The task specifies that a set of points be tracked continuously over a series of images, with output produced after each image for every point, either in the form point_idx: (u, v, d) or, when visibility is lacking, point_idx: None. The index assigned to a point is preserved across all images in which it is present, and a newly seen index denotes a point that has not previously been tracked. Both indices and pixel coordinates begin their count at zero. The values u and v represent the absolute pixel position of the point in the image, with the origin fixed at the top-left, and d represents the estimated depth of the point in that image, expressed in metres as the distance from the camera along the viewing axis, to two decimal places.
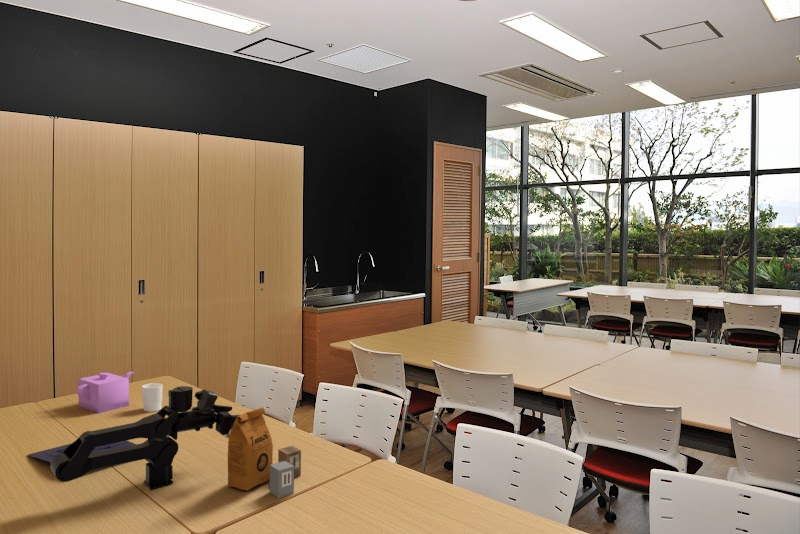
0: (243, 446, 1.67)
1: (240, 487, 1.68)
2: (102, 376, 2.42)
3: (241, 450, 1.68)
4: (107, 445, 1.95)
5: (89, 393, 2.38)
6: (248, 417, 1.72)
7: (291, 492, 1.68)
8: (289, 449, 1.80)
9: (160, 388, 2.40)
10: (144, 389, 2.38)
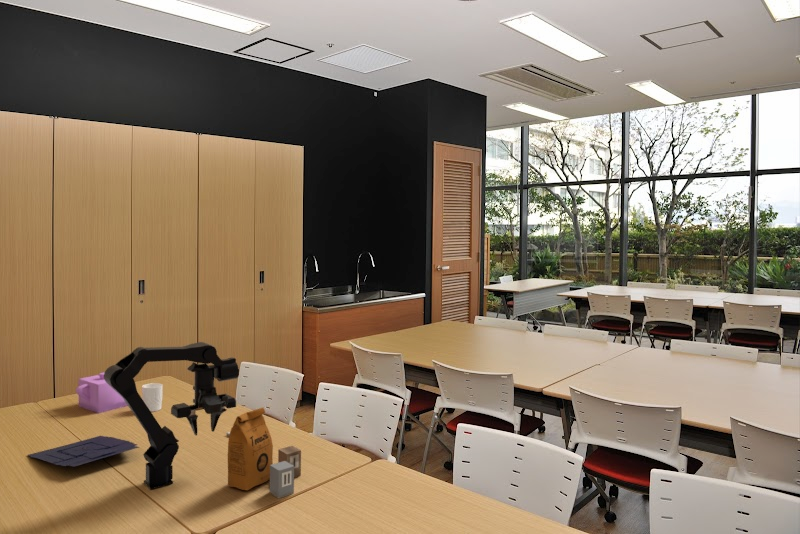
0: (243, 446, 1.67)
1: (240, 487, 1.68)
2: (102, 376, 2.42)
3: (241, 450, 1.68)
4: (107, 445, 1.94)
5: (89, 393, 2.38)
6: (248, 417, 1.72)
7: (291, 492, 1.68)
8: (289, 449, 1.80)
9: (160, 388, 2.40)
10: (144, 389, 2.38)
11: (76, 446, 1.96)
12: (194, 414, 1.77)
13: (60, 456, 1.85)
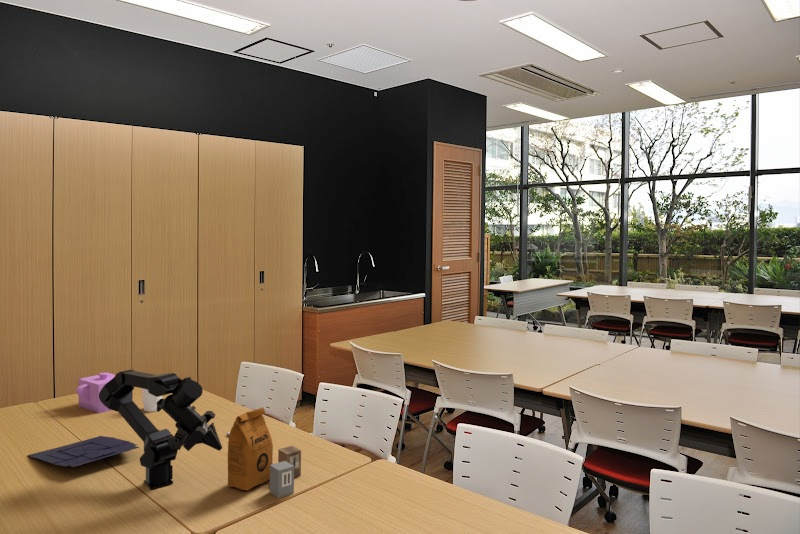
0: (243, 446, 1.67)
1: (240, 487, 1.68)
2: (102, 376, 2.42)
3: (241, 450, 1.68)
4: (107, 445, 1.94)
5: (89, 393, 2.38)
6: (248, 417, 1.72)
7: (291, 492, 1.68)
8: (289, 449, 1.80)
9: None
10: (144, 389, 2.38)
11: (76, 446, 1.96)
12: None
13: (60, 456, 1.85)
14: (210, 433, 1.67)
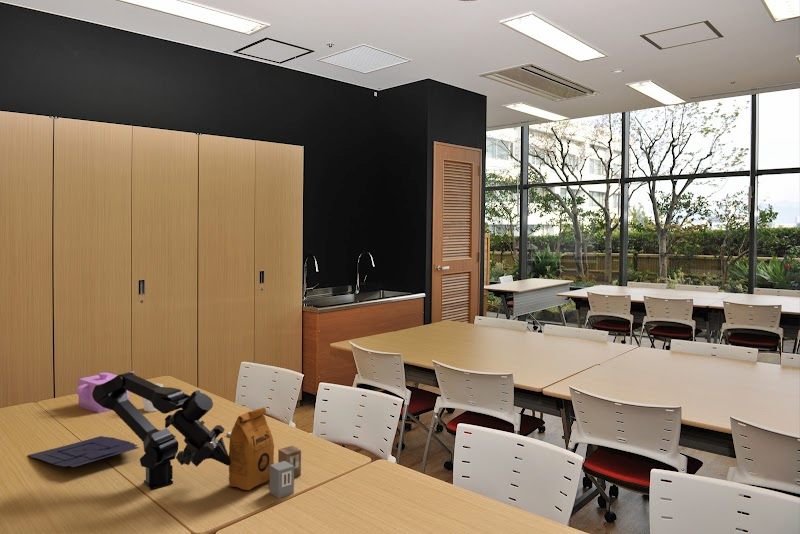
0: (244, 445, 1.68)
1: (241, 487, 1.68)
2: (102, 376, 2.42)
3: (242, 450, 1.68)
4: (107, 446, 1.94)
5: (89, 393, 2.38)
6: (249, 417, 1.72)
7: (291, 492, 1.68)
8: (289, 449, 1.80)
9: None
10: None
11: (76, 446, 1.96)
12: None
13: (60, 456, 1.85)
14: (219, 448, 1.67)
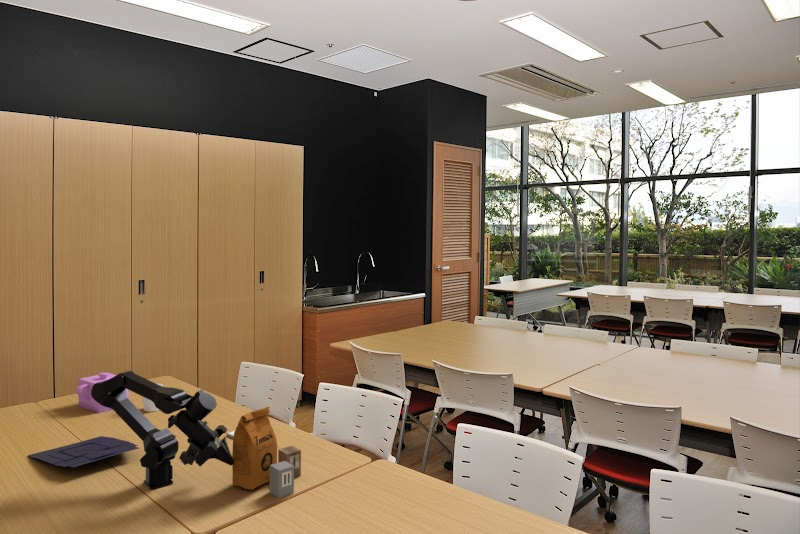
0: (248, 445, 1.68)
1: (244, 486, 1.69)
2: (102, 376, 2.42)
3: (245, 449, 1.68)
4: (108, 446, 1.94)
5: (89, 393, 2.38)
6: (253, 417, 1.73)
7: (291, 492, 1.68)
8: (289, 449, 1.80)
9: None
10: None
11: (77, 446, 1.96)
12: None
13: (60, 456, 1.85)
14: (222, 448, 1.68)
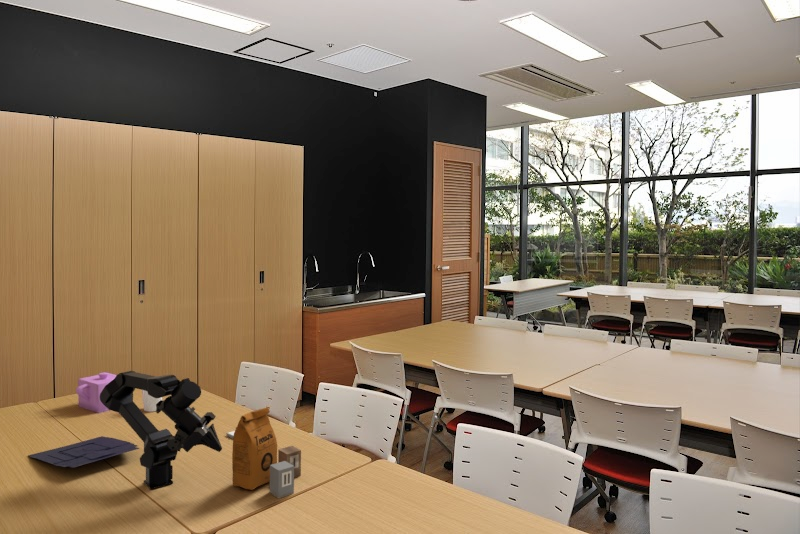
0: (248, 445, 1.68)
1: (244, 486, 1.69)
2: (102, 376, 2.42)
3: (245, 449, 1.68)
4: (108, 446, 1.94)
5: (89, 393, 2.38)
6: (253, 417, 1.73)
7: (291, 492, 1.68)
8: (289, 449, 1.80)
9: None
10: None
11: (77, 447, 1.95)
12: None
13: (60, 457, 1.85)
14: (209, 434, 1.67)
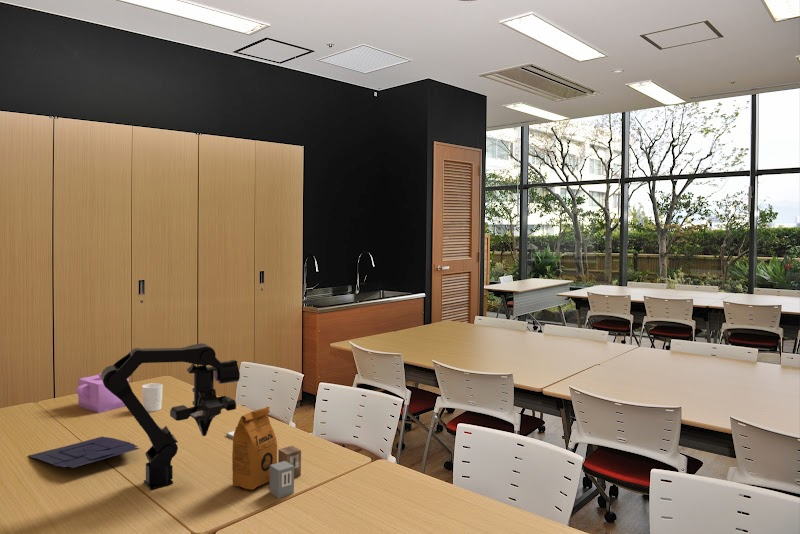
0: (248, 445, 1.68)
1: (244, 486, 1.69)
2: None
3: (245, 449, 1.68)
4: (108, 446, 1.93)
5: (89, 393, 2.38)
6: (253, 417, 1.73)
7: (291, 492, 1.68)
8: (289, 449, 1.80)
9: (160, 388, 2.40)
10: (144, 389, 2.38)
11: (77, 447, 1.95)
12: (202, 415, 1.76)
13: (60, 457, 1.84)
14: None
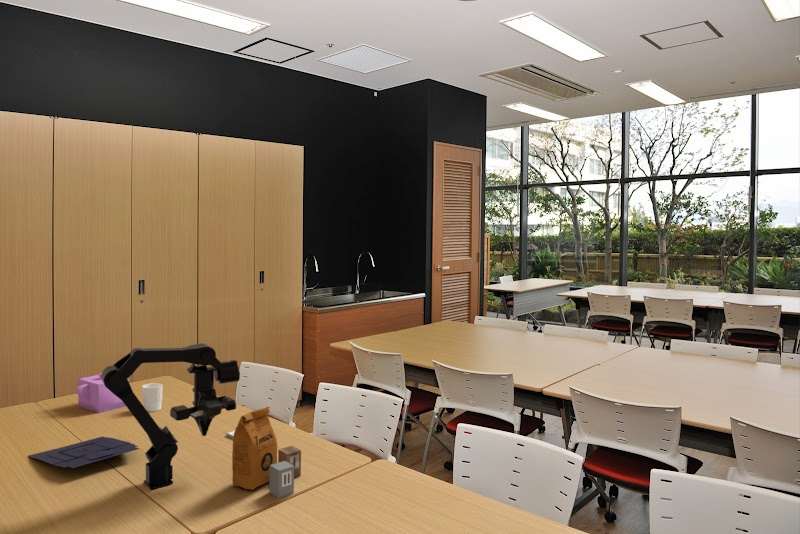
0: (248, 445, 1.68)
1: (244, 486, 1.69)
2: None
3: (245, 449, 1.68)
4: (108, 446, 1.93)
5: (89, 393, 2.39)
6: (253, 417, 1.73)
7: (291, 492, 1.68)
8: (289, 449, 1.80)
9: (160, 388, 2.40)
10: (144, 389, 2.38)
11: (77, 447, 1.95)
12: (202, 415, 1.76)
13: (60, 457, 1.84)
14: None
